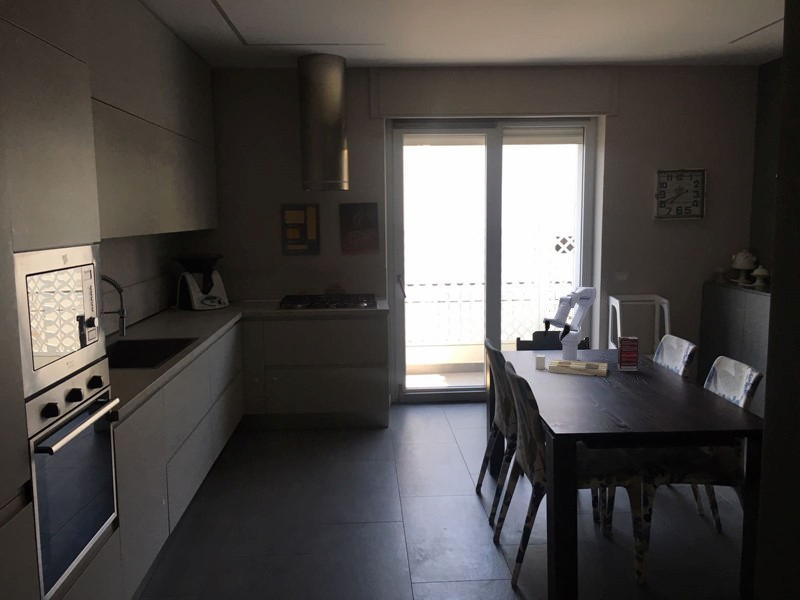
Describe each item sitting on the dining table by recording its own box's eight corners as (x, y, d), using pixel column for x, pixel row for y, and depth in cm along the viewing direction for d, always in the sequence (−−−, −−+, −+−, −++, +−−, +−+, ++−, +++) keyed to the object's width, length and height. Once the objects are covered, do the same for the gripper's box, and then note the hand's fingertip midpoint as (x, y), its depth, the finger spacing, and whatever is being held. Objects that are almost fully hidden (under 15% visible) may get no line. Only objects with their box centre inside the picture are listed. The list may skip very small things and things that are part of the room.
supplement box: (635, 368, 309) (636, 336, 307) (637, 371, 304) (639, 338, 302) (616, 368, 310) (618, 336, 308) (619, 371, 305) (620, 338, 303)
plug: (536, 366, 315) (537, 354, 315) (545, 367, 314) (545, 355, 313) (535, 368, 312) (535, 356, 311) (543, 369, 310) (544, 357, 310)
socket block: (552, 365, 318) (552, 358, 317) (607, 369, 308) (607, 362, 308) (548, 371, 305) (548, 364, 304) (605, 376, 295) (605, 369, 295)
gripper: (547, 307, 313) (538, 328, 306) (576, 315, 307) (568, 337, 301) (547, 315, 318) (538, 337, 312) (575, 323, 313) (567, 345, 306)
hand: (552, 337), depth 306 cm, fingers open, 7 cm apart
